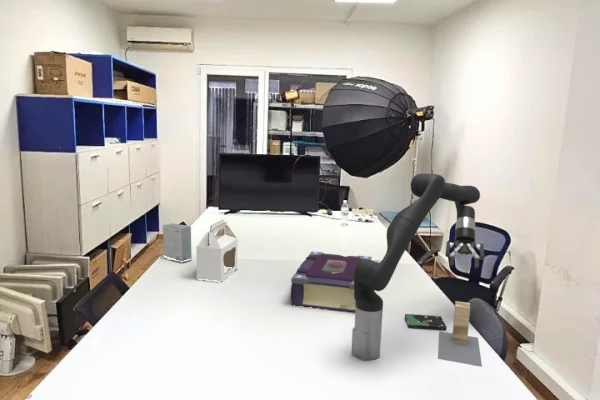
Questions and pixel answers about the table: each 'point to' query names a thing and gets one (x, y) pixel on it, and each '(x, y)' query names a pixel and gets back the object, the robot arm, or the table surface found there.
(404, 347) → the table surface
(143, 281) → the table surface
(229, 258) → the gable box
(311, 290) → the book
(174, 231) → the hard drive box
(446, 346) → the rubber mat
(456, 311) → the oak block
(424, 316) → the disk drive
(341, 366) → the table surface
